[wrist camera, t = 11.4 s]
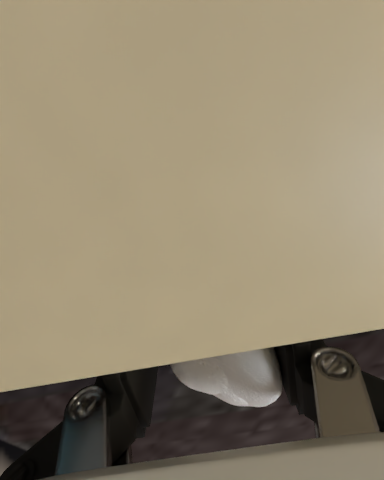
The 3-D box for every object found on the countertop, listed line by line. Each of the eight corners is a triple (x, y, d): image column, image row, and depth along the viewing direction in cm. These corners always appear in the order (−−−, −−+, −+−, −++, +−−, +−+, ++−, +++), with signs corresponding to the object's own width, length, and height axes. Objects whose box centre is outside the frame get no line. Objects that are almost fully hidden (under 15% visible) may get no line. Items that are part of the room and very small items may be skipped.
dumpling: (279, 336, 14) (296, 424, 10) (188, 347, 15) (178, 427, 12) (246, 230, 10) (256, 316, 7) (130, 259, 11) (93, 340, 8)
